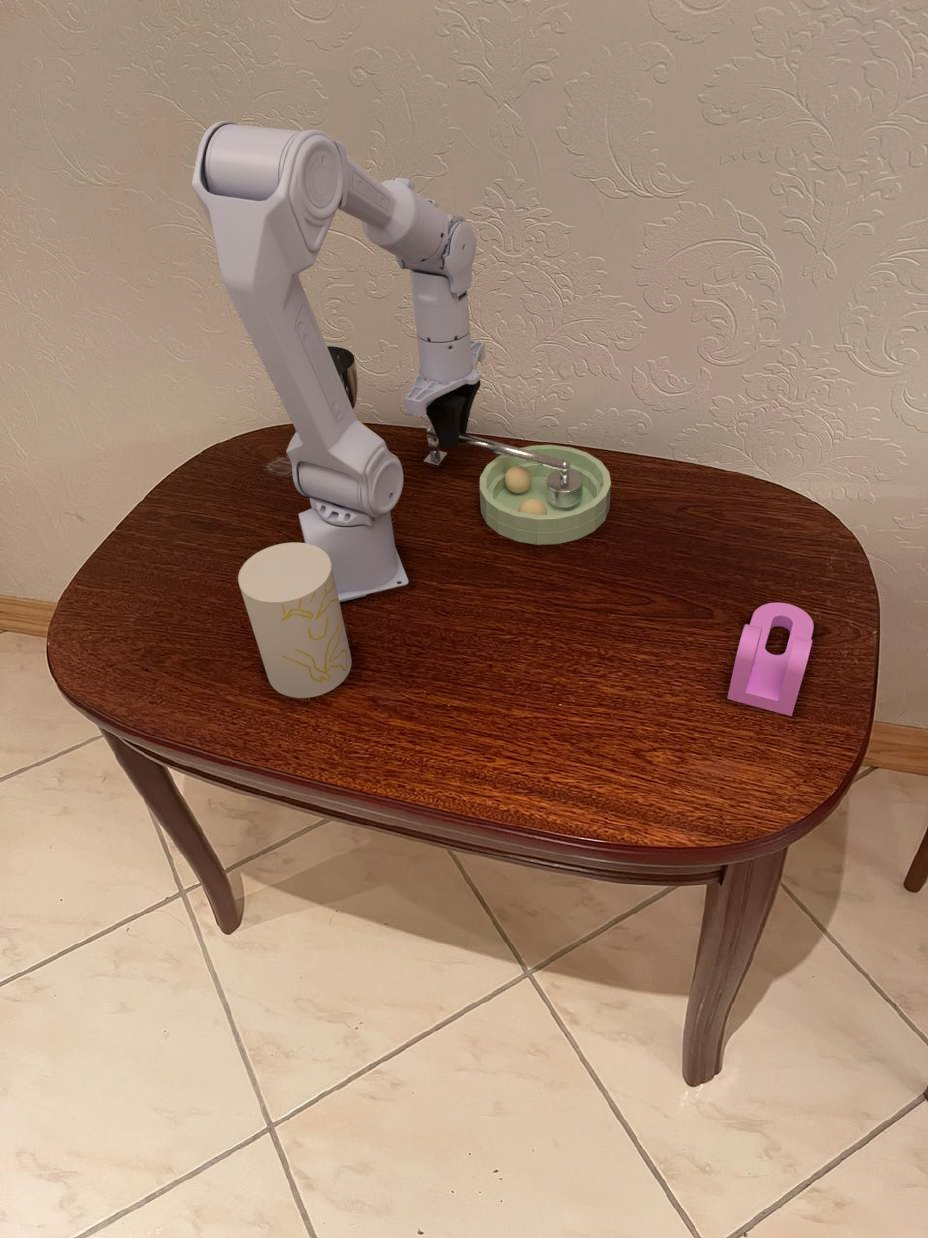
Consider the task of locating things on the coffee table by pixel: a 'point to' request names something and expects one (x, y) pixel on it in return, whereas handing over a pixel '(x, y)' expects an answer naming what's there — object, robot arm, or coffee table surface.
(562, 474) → the weighted chrome rod
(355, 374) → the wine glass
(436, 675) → the coffee table surface
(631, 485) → the coffee table surface
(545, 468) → the bowl
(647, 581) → the coffee table surface
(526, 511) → the dough ball
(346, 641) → the cream cylinder
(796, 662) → the bracket
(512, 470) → the dough ball
